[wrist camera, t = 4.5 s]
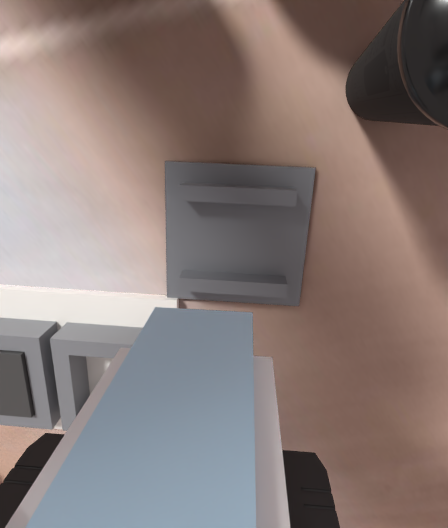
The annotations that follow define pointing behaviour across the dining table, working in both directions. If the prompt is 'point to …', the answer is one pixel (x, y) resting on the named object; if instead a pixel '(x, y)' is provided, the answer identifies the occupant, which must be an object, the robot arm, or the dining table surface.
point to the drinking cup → (405, 68)
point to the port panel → (62, 348)
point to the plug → (167, 433)
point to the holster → (237, 231)
